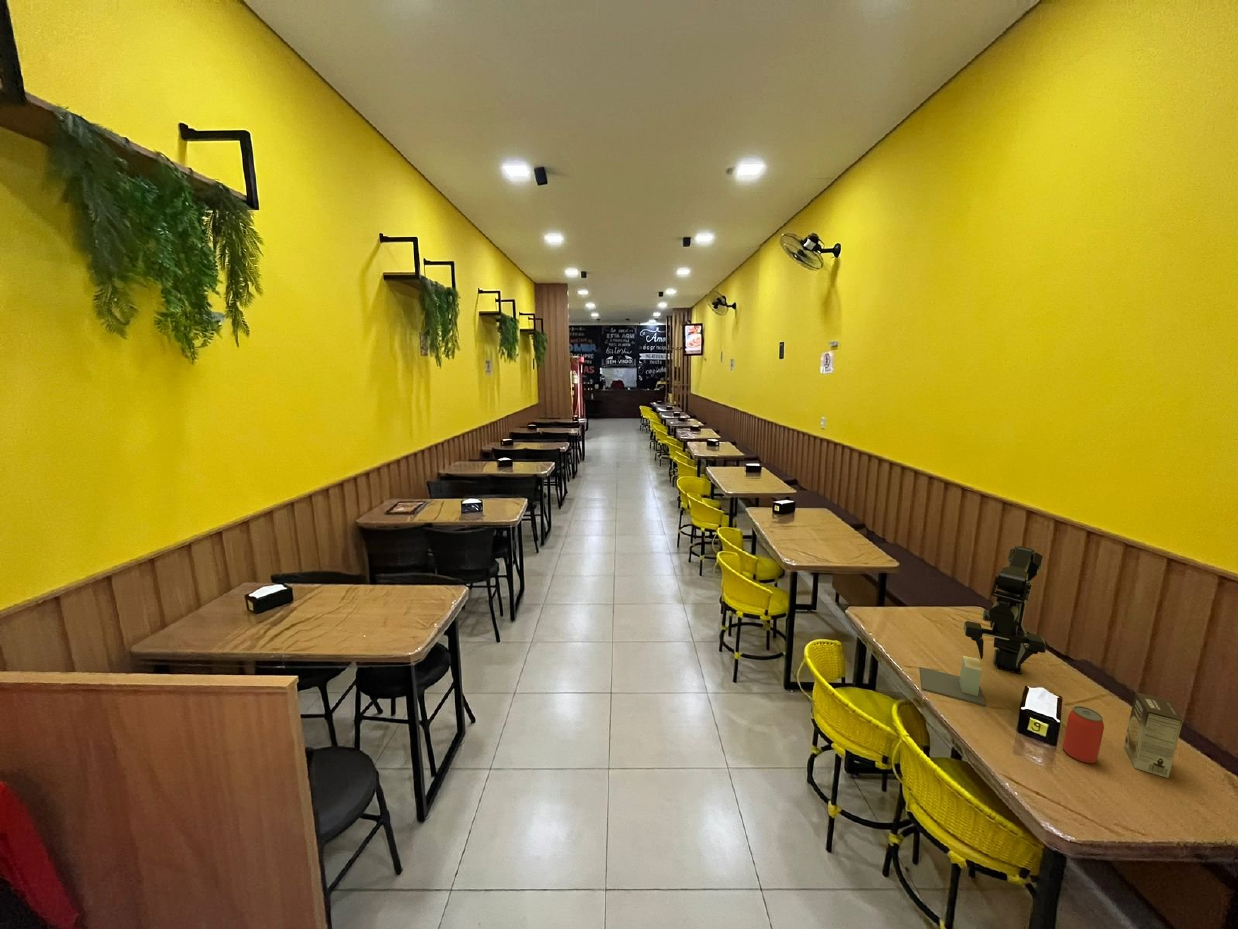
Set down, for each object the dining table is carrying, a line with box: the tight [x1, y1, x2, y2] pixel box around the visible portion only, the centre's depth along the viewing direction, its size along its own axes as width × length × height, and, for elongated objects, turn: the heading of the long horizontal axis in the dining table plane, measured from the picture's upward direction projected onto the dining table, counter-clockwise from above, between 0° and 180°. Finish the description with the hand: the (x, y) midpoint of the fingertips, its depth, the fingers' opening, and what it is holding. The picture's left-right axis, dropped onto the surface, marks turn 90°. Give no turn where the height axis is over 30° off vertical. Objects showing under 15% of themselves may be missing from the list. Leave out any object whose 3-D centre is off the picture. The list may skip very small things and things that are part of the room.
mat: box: [919, 666, 987, 707], centre depth 154 cm, size 16×13×1 cm
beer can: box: [1062, 705, 1105, 764], centre depth 126 cm, size 7×7×12 cm
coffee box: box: [1123, 692, 1184, 779], centre depth 123 cm, size 9×6×16 cm
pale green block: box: [959, 655, 983, 696], centre depth 152 cm, size 4×6×9 cm, turn 152°
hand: (998, 662), depth 148 cm, fingers open, 8 cm apart
